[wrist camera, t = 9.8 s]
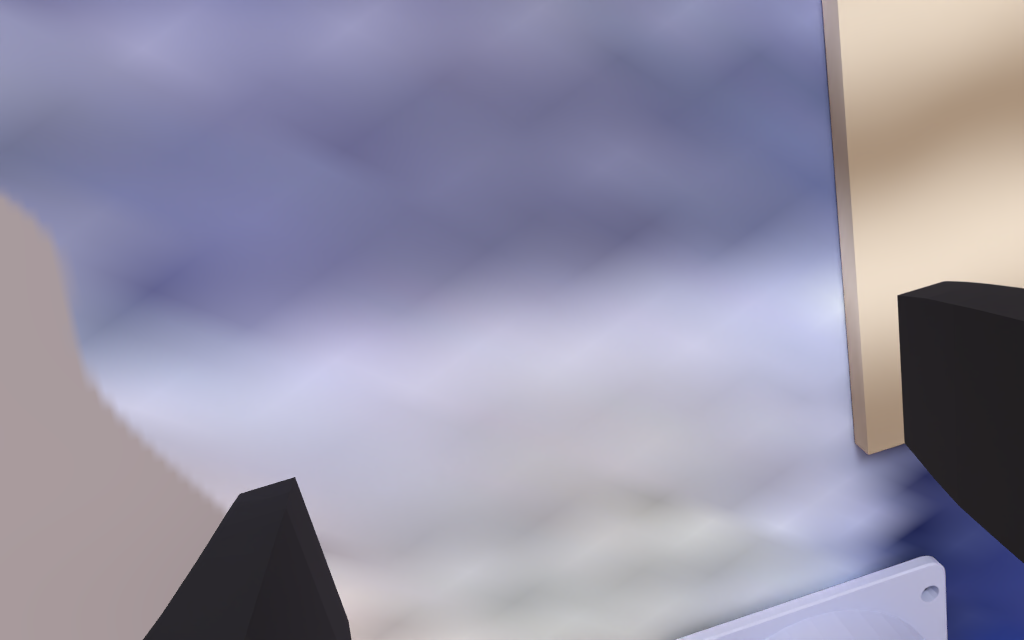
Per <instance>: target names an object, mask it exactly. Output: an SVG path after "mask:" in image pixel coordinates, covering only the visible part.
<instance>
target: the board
mask: <svg viewBox="0 0 1024 640" xmlns="http://www.w3.org/2000/svg"><path fill="white" fill-rule="evenodd" d="M822 7H823V20H824V33H825V47H826V60H827V74H828V87H829V100H830V114H831V127H832V141H833V154H834V167H835V181H836V194H837V208H838V221H839V234H840V248H841V261H842V275H843V288H844V301H845V315H846V328H847V342H848V355H849V368H850V382H851V395H852V409H853V422H854V435H855V444H857V445H858V446H859V447H860V448H861V449H862V450H863V451H865V452H866V453H867V454H868V455H870V454H873V453H876V452H879V451H882V450H886V449H889V448H892V447H895V446H898V445H901V444H904V443H905V442H904V423H903V403H902V382H901V362H900V342H899V321H898V301H897V295H900V294H903V293H907V292H910V291H913V290H916V289H920V288H923V287H926V286H930V285H933V284H936V283H940V282H943V281H960V282H975V283H985V284H994V285H1002V286H1010V287H1018V288H1024V0H822Z"/></svg>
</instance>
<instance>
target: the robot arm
mask: <svg viewBox="0 0 1024 640" xmlns="http://www.w3.org/2000/svg"><path fill="white" fill-rule="evenodd" d="M897 301H898V321H899V342H900V362H901V382H902V403H903V423H904V442H905V444H906V445H907V446H908V447H909V448H910V450H911V451H912V452H913V453H914V454H915V456H916V457H917V458H918V459H919V461H920V462H921V463H922V464H923V465H924V467H925V468H926V469H927V470H928V471H929V473H930V474H931V475H932V476H933V477H934V479H935V480H936V481H937V482H938V483H939V484H940V485H941V486H942V488H943V489H944V490H945V491H946V492H947V493H948V494H949V495H950V496H951V498H952V499H953V500H954V501H955V502H956V503H957V504H958V505H959V506H960V507H961V508H962V509H963V510H964V511H965V512H966V513H968V514H969V515H970V516H971V517H972V518H973V519H974V520H975V521H976V522H978V523H979V524H980V525H981V526H982V527H983V528H984V529H985V530H987V531H988V532H989V533H990V534H991V535H992V536H993V537H994V538H996V539H997V540H998V541H999V542H1000V543H1001V544H1002V545H1003V546H1005V547H1006V548H1007V549H1008V550H1009V551H1010V552H1011V553H1013V554H1014V555H1015V556H1016V557H1017V558H1018V559H1020V560H1021V561H1022V562H1023V563H1024V288H1018V287H1010V286H1002V285H994V284H985V283H975V282H960V281H943V282H940V283H936V284H933V285H930V286H926V287H923V288H920V289H916V290H913V291H910V292H907V293H903V294H900V295H897ZM927 587H928V588H927ZM926 588H927V589H926ZM925 589H926V590H925ZM143 640H351V634H350V628H349V622H348V619H347V616H346V613H345V611H344V608H343V605H342V603H341V600H340V597H339V594H338V592H337V589H336V586H335V584H334V581H333V578H332V576H331V573H330V570H329V568H328V565H327V562H326V559H325V557H324V554H323V551H322V549H321V546H320V543H319V541H318V538H317V535H316V533H315V530H314V527H313V524H312V522H311V519H310V516H309V514H308V511H307V508H306V506H305V503H304V500H303V497H302V495H301V492H300V489H299V487H298V484H297V481H296V479H295V477H294V478H291V479H288V480H284V481H281V482H278V483H274V484H271V485H268V486H264V487H261V488H258V489H254V490H251V491H248V492H245V493H241V494H240V495H239V496H238V497H237V499H236V500H235V502H234V503H233V505H232V506H231V508H230V509H229V511H228V512H227V514H226V516H225V517H224V519H223V520H222V522H221V523H220V525H219V527H218V528H217V530H216V531H215V533H214V535H213V536H212V538H211V540H210V541H209V543H208V544H207V546H206V547H205V549H204V551H203V552H202V554H201V555H200V557H199V559H198V560H197V562H196V563H195V565H194V566H193V568H192V569H191V571H190V572H189V574H188V575H187V577H186V579H185V580H184V581H183V583H182V584H181V586H180V587H179V589H178V591H177V592H176V594H175V595H174V597H173V598H172V600H171V601H170V603H169V604H168V606H167V607H166V609H165V610H164V612H163V613H162V615H161V616H160V617H159V619H158V620H157V621H156V623H155V624H154V626H153V627H152V628H151V630H150V631H149V632H148V634H147V635H146V636H145V638H144V639H143ZM676 640H947V612H946V578H945V569H944V567H943V566H942V565H941V564H940V563H939V562H938V561H937V560H936V559H935V558H934V557H931V556H922V557H918V558H915V559H913V560H910V561H907V562H904V563H901V564H898V565H895V566H892V567H889V568H886V569H883V570H880V571H877V572H874V573H871V574H868V575H865V576H862V577H859V578H856V579H853V580H850V581H847V582H844V583H841V584H839V585H836V586H833V587H830V588H827V589H824V590H821V591H818V592H815V593H812V594H809V595H806V596H803V597H800V598H797V599H794V600H791V601H788V602H785V603H782V604H779V605H776V606H773V607H770V608H768V609H765V610H762V611H759V612H756V613H753V614H750V615H747V616H744V617H741V618H738V619H735V620H732V621H729V622H726V623H723V624H720V625H717V626H714V627H711V628H708V629H705V630H702V631H699V632H696V633H694V634H691V635H688V636H685V637H682V638H679V639H676Z"/></svg>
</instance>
